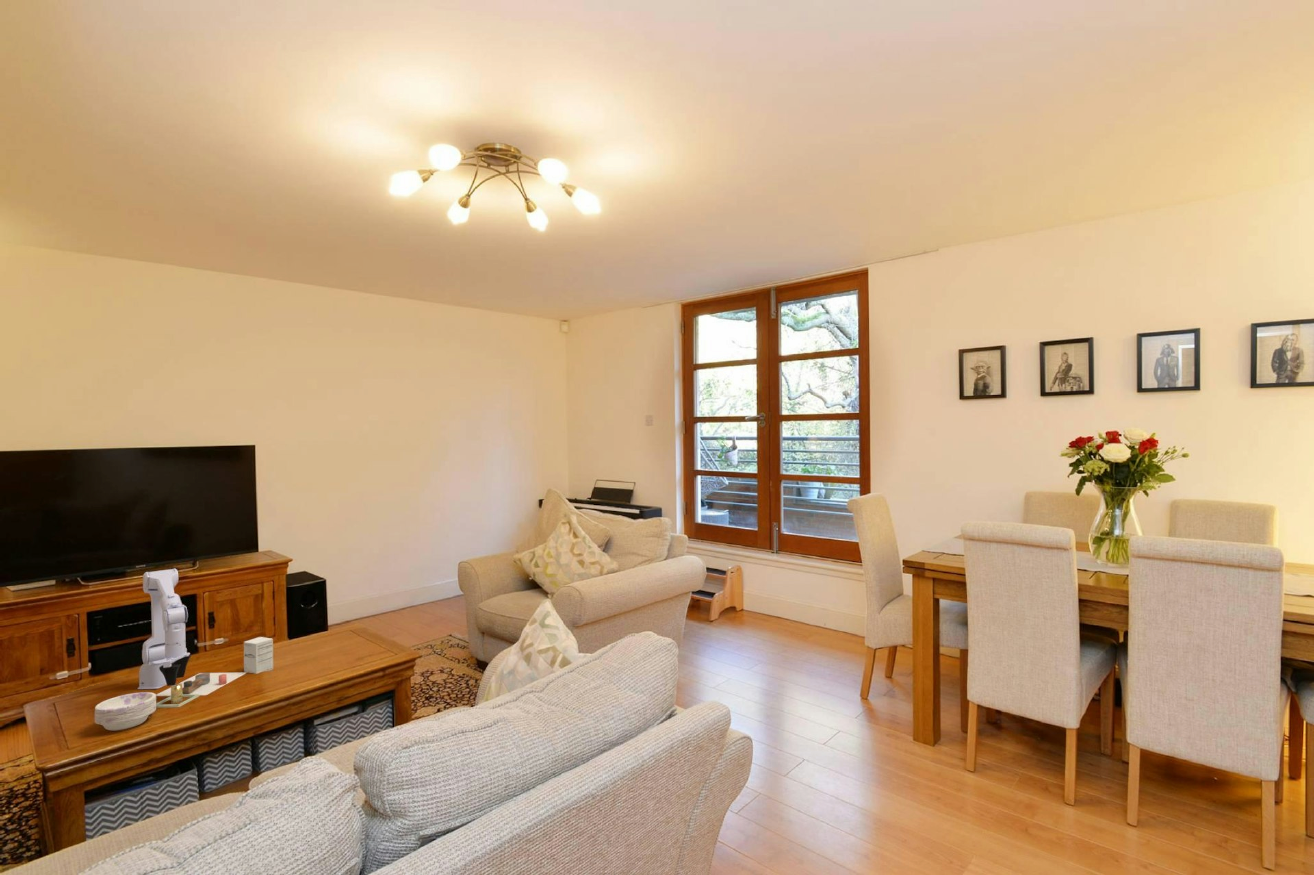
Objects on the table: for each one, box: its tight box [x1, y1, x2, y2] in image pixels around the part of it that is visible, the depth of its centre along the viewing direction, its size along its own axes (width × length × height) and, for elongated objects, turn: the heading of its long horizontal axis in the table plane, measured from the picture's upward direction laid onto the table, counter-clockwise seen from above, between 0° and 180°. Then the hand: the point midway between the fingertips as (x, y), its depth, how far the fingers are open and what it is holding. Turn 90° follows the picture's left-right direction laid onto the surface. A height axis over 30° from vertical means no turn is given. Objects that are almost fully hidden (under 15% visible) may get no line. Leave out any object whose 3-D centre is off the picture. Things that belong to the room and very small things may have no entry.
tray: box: [156, 694, 200, 709], centre depth 217 cm, size 9×9×2 cm
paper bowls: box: [94, 691, 157, 732], centre depth 201 cm, size 15×15×8 cm
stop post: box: [219, 674, 228, 686], centre depth 232 cm, size 2×2×3 cm
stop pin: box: [170, 683, 184, 705], centre depth 217 cm, size 3×3×6 cm
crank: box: [182, 672, 211, 694], centre depth 229 cm, size 13×4×4 cm, turn 9°
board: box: [156, 671, 248, 697], centre depth 233 cm, size 19×22×1 cm
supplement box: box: [243, 636, 274, 675], centre depth 247 cm, size 7×7×13 cm
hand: (175, 681), depth 217 cm, fingers open, 7 cm apart
